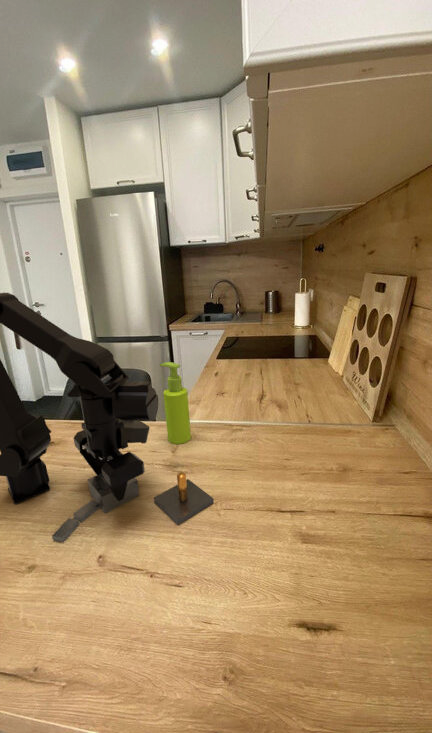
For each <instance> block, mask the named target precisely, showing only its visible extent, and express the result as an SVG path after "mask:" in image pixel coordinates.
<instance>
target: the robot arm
mask: <svg viewBox="0 0 432 733" xmlns="http://www.w3.org/2000/svg"><path fill="white" fill-rule="evenodd" d="M0 324H1V325H2V326H4V327H5V328H7V329H9V330H10V331H12V332H13V333H15V334H16V335H18V336H19V337H21V338H22V339H23V340H25V341H27V342H28V343H30V344H32V345H33V346H34V347H36V348H38V349H39V350H40V351H42V352H43V353H45V354H47V355H48V356H50V358H52V359H53V360H54V361H55V362H56V365H57V366H58V368H59V371H60V372H61V373H62V374H63V375H65V377H67V379H69V380H70V381H71V382H72V383H74V384H73V387H72V388H71V389H70V390H69V391H68V392H67V393H66V394H67V395H66V396H67V397H68V398H79V402H80V405H81V406H80V408H81V411H82V419H83V422H82V423H81V425H80V426H81V429H82V430H80V431H77V432H76V434H75V435H74V437H73V443H74V447H76V449H77V450H78V451H79V454H80V455H81V456H82V458H83V459H84V460H85V462H86V463H87V464H88V465H89V467H90V468H91V469H92V471H93V472H94V474H96V475H95V476H97V475H99V474H101V473H102V474H103V475H102V476H101V478H102V479H103V480H104V482H105V483H106V485H107V486H108V487H109V490H111V492H112V493H113V495H114V496H115V497H116V499H117V500H118V501H120V500H122V499H124V496H125V491H126V487H127V483H128V481H129V480H131V479H133V478H138V477H139V476H142V475H144V473H145V463H144V461H143V460H142V459H141V458H140V457H139V456H137V455H136V454H135V453H133V452H131V451H128V452H125V453H123V452H121V451H120V449H121V450H123V449H127V448H129V444H139V443H140V444H146V443H147V442H148V437H149V432H150V426H149V425H148V424H146V423H144V421H145V422H154V420H156V417H157V414H158V410H159V395H158V394H157V391H156V389H155V388H154V387H153V384H152V383H153V382H152V381H148V380H147V381H146V380H145V381H140V382H139V381H135V382H134V381H129V380H130V377H129V375H128V374H127V373H126V372H125V371H124V370H123V369H122V368H121V366H120V365H119V364H118V363H117V362H116V361H115V358H114V354H113V353H112V352H111V351H110V350H109V349H108V348H106V347H104V346H102V345H99V344H97V343H95V342H93V341H91V340H86V339H83V338H78V337H75V336H73V335H72V334H70V333H68V332H66V331H65V330H64V329H63V328H61V327H59V326H58V325H56V324H54V323H53V322H52V321H51V320H49V319H47V318H46V317H44V316H43V315H41V314H40V313H38V312H37V311H35V310H33V308H30V307H29V306H27V305H26V304H24V303H23V302H22V301H20V300H19V298H18V297H17V296H15V295H14V294H13V293H9V292H0ZM108 377H110V379H109V380H107V381H106V382H104V380H105V379H106V378H108ZM20 397H21V396H19V393H18V391H17V389H16V388H15V386H14V383H13V382H12V379H11V378H10V375H9V374H8V372H7V370H6V368H5V366H4V363H3V361H2V360H1V358H0V477H6V478H5V479H6V482H7V485H8V488H7V489H8V492H9V495H10V498H11V500H12V502H13V504H14V505H17V504H19V503H22V502H24V501H26V500H29V499H31V498H32V499H33V497H36V496H39V495H40V494H43V493H45V492H49V490H50V489H51V487H50V485H49V483H50V476H49V473H48V468H47V465H46V463H45V462H44V460H42V458H41V457H42V456H43V455H45V454H46V453H47V451H48V447H49V445H50V443H51V441H52V437H51V434H52V430H51V429H50V428H49V427H48V425H47V423H46V420H45V417H44V416H43V415H39V416H37V417H36V416H35V415H34V414H32V413H30V412H28V410H27V409H26V408H25V405H24V403H23V402H22V400H21V398H20Z"/></svg>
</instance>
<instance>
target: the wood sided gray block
mask: <svg viewBox="0 0 432 733" xmlns="http://www.w3.org/2000/svg"><path fill="white" fill-rule="evenodd" d="M79 526H80V521H78V520H76V519H74V518H72V517H71V518H70V517H67V519H66V520H65V521H64V522H63V524H61V525H60V527H59V528H58V529H56V531H55V532H54V533H53V534H51V535H52V536H51V537H52V540H53V542H56V543H57V542H58V543H61V542H64V541H65V540H66V539H67V540H68V539H69V538H70V537H71V535H72V534H73V533H74V532H75V531H76V529H78V527H79ZM73 531H74V532H73ZM72 532H73V533H72ZM71 533H72V534H71ZM70 534H71V535H70ZM67 540H66V541H67ZM66 541H65V542H66ZM65 542H64V543H65Z"/></svg>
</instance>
